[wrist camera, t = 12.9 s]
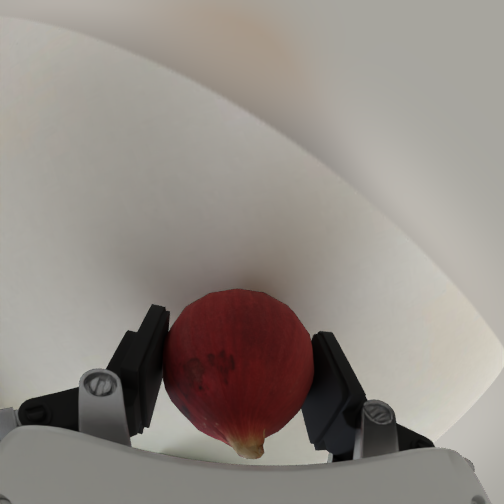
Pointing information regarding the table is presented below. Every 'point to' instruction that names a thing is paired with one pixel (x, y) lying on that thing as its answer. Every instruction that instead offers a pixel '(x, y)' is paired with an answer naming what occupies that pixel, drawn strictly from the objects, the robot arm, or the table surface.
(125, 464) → the robot arm
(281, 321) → the onion
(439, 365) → the table surface
